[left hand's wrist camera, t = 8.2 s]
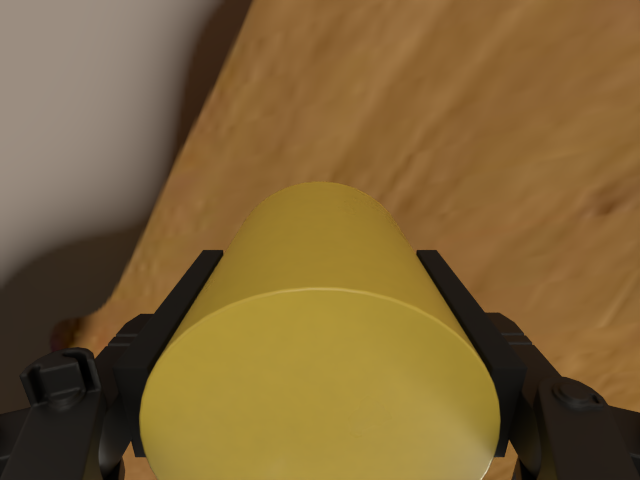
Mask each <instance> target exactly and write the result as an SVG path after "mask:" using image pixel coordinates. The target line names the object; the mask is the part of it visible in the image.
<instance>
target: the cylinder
mask: <svg viewBox="0 0 640 480" xmlns="http://www.w3.org/2000/svg"><path fill="white" fill-rule="evenodd" d="M139 422H140V436H141V441H142V445H143V449H144V453H145V455H146V458H147V460H148V463H149V465H150V467H151V469H152V471H153V472H154V474H155V476H156V477H157V479H158V480H482V478H483V477H484V475H485V474H486V472H487V471H488V468H489V466H490V464H491V462H492V460H493V457H494V455H495V451H496V448H497V444H498V440H499V433H500V409H499V400H498V397H497V393H496V389H495V386H494V383H493V381H492V378H491V376H490V374H489V372H488V370H487V368H486V366H485V364H484V363H483V361H482V360H481V358H480V356H479V355H478V353H477V351H476V350H475V348H474V347H473V345H472V343H471V342H470V340H469V339H468V337H467V335H466V334H465V332H464V331H463V329H462V327H461V326H460V324H459V323H458V321H457V319H456V318H455V316H454V315H453V313H452V311H451V310H450V308H449V307H448V305H447V303H446V302H445V300H444V299H443V297H442V295H441V294H440V292H439V291H438V289H437V287H436V286H435V284H434V283H433V281H432V279H431V278H430V276H429V274H428V273H427V271H426V270H425V268H424V266H423V265H422V263H421V262H420V260H419V258H418V257H417V255H416V254H415V252H414V250H413V249H412V247H411V246H410V244H409V242H408V241H407V239H406V238H405V236H404V234H403V233H402V231H401V230H400V228H399V226H398V225H397V223H396V222H395V220H394V219H393V217H392V216H391V215H390V213H389V212H388V211H387V210H386V209H385V208H384V207H383V206H382V205H381V204H380V203H379V202H377V201H376V200H375V199H374V198H372V197H371V196H369V195H367V194H366V193H364V192H362V191H360V190H357V189H355V188H353V187H350V186H346V185H343V184H339V183H332V182H308V183H301V184H297V185H293V186H290V187H287V188H285V189H282V190H280V191H278V192H276V193H274V194H273V195H271V196H269V197H268V198H266V199H265V200H264V201H262V202H261V203H260V204H259V205H258V206H257V207H256V208H255V209H254V210H253V211H252V212H251V213H250V215H249V216H248V217H247V218H246V220H245V221H244V223H243V224H242V226H241V228H240V229H239V231H238V232H237V234H236V236H235V237H234V239H233V241H232V242H231V244H230V245H229V247H228V249H227V250H226V252H225V253H224V255H223V257H222V258H221V260H220V261H219V263H218V265H217V266H216V268H215V269H214V271H213V273H212V274H211V276H210V277H209V279H208V281H207V282H206V284H205V285H204V287H203V289H202V290H201V292H200V293H199V295H198V297H197V298H196V300H195V301H194V303H193V305H192V306H191V308H190V309H189V311H188V313H187V314H186V316H185V317H184V319H183V321H182V322H181V324H180V325H179V327H178V329H177V330H176V332H175V333H174V335H173V337H172V338H171V340H170V341H169V343H168V345H167V346H166V348H165V349H164V351H163V353H162V354H161V356H160V357H159V359H158V361H157V362H156V364H155V366H154V368H153V370H152V372H151V374H150V375H149V377H148V379H147V382H146V386H145V389H144V392H143V395H142V399H141V407H140V414H139Z"/></svg>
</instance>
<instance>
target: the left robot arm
mask: <svg viewBox="0 0 640 480" xmlns="http://www.w3.org/2000/svg"><path fill="white" fill-rule="evenodd" d="M416 255H417V257H418V258H419V260H420V262H421V263H422V265H423V266H424V268H425V270H426V271H427V273H428V274H429V276H430V278H431V279H432V281H433V283H434V284H435V286H436V287H437V289H438V291H439V292H440V294H441V295H442V297H443V299H444V300H445V302H446V303H447V305H448V307H449V308H450V310H451V311H452V313H453V315H454V316H455V318H456V319H457V321H458V323H459V324H460V326H461V327H462V329H463V331H464V332H465V334H466V335H467V337H468V339H469V340H470V342H471V343H472V345H473V347H474V348H475V350H476V351H477V353H478V355H479V356H480V358H481V360H482V361H483V363H484V364H485V366H486V368H487V370H488V372H489V374H490V376H491V378H492V381H493V383H494V386H495V389H496V393H497V397H498V400H499V409H500V433H499V440H498V444H497V448H496V451H495V455H494V457H504V456H505V453H506V449H507V445H508V441H509V440H510V442H511V444H512V445H513V447H514V449H515V451H516V453H517V454H518V458H517V462H516V465H515V469H514V472H513V476H512V479H511V480H640V413H639V412H634V411H630V410H626V409H621V408H617V407H613V406H609V405H608V404H607V403H606V401H605V400H604V398H603V397H602V396H601V395H599V394H598V393H597V392H596V391H595V390H593V389H592V388H590V387H588V386H587V385H585V384H583V383H581V382H579V381H576V380H573V379H570V378H567V377H562V376H561V375H560V374H559V373H558V372H557V371H556V369H555V368H554V367H553V366H552V365H551V364H550V363H549V361H548V360H547V359H546V358H545V357H544V356H543V355H542V353H541V352H540V351H539V350H538V349H537V348H536V347H535V345H532V342H531V341H530V340H529V339H528V337H527V336H524V333H523V332H522V331H521V329H520V328H519V327H518V326H517V325H516V324H515V323H514V322H513V321H511V320H510V319H508V318H507V317H505V316H504V315H502V314H500V313H485V312H484V311H483V310H482V308H481V307H480V306H479V304H478V303H477V302H476V300H475V299H474V298H473V297H472V295H471V294H470V293H469V291H468V290H467V289H466V288H465V286H464V285H463V284H462V282H461V281H460V280H459V279H458V277H457V276H456V275H455V273H454V272H453V271H452V270H451V268H450V267H449V266H448V264H447V263H446V262H445V261H444V259H443V258H442V257H441V255H440V254H439V253H438V252H437V250H417V254H416ZM222 257H223V250H203V251H202V253H201V254H200V255H199V256H198V258H197V259H196V260H195V262H194V263H193V264H192V265H191V267H190V268H189V269H188V271H187V272H186V273H185V274H184V276H183V277H182V278H181V280H180V281H179V282H178V283H177V285H176V286H175V287H174V289H173V290H172V291H171V292H170V294H169V295H168V296H167V298H166V299H165V300H164V301H163V303H162V304H161V305H160V307H159V308H158V309H157V310H156V312H155V313H154V314H140V315H138V316H137V317H135V318H133V319H132V320H130V321H129V322H127V323H126V324H125V325H124V326H123V327H122V328H121V330H120V331H119V332H118V333H117V334H116V337H114V338H113V339H112V340H111V341H110V342H109V343H108V346H106V347H105V348H104V349H103V350H102V351H101V353H100V354H99V355H98V356H97V357H96V358H95V359H94V355H93V353H92V352H91V351H90V350H88V349H86V348H79V347H75V348H66V349H62V350H59V351H55V352H52V353H50V354H47V355H45V356H43V357H41V358H39V359H37V360H36V361H34V362H33V363H32V364H30V365H29V366H28V367H26V368H25V370H24V371H23V372H22V373H21V374H20V379H21V381H22V384H23V386H24V389H25V392H26V394H27V397H28V400H29V402H30V405H31V407H29V408H26V409H21V410H17V411H13V412H8V413H4V414H0V480H124V476H125V467H124V462H123V458H122V456H123V454H124V452H125V450H126V449H127V447H128V445H129V443H130V441H131V442H132V446H133V450H134V454H135V457H146V455H145V453H144V449H143V445H142V441H141V436H140V422H139V414H140V407H141V399H142V395H143V392H144V389H145V386H146V382H147V379H148V377H149V375H150V374H151V372H152V370H153V368H154V366H155V364H156V362H157V361H158V359H159V357H160V356H161V354H162V353H163V351H164V349H165V348H166V346H167V345H168V343H169V341H170V340H171V338H172V337H173V335H174V333H175V332H176V330H177V329H178V327H179V325H180V324H181V322H182V321H183V319H184V317H185V316H186V314H187V313H188V311H189V309H190V308H191V306H192V305H193V303H194V301H195V300H196V298H197V297H198V295H199V293H200V292H201V290H202V289H203V287H204V285H205V284H206V282H207V281H208V279H209V277H210V276H211V274H212V273H213V271H214V269H215V268H216V266H217V265H218V263H219V261H220V260H221V258H222Z"/></svg>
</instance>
